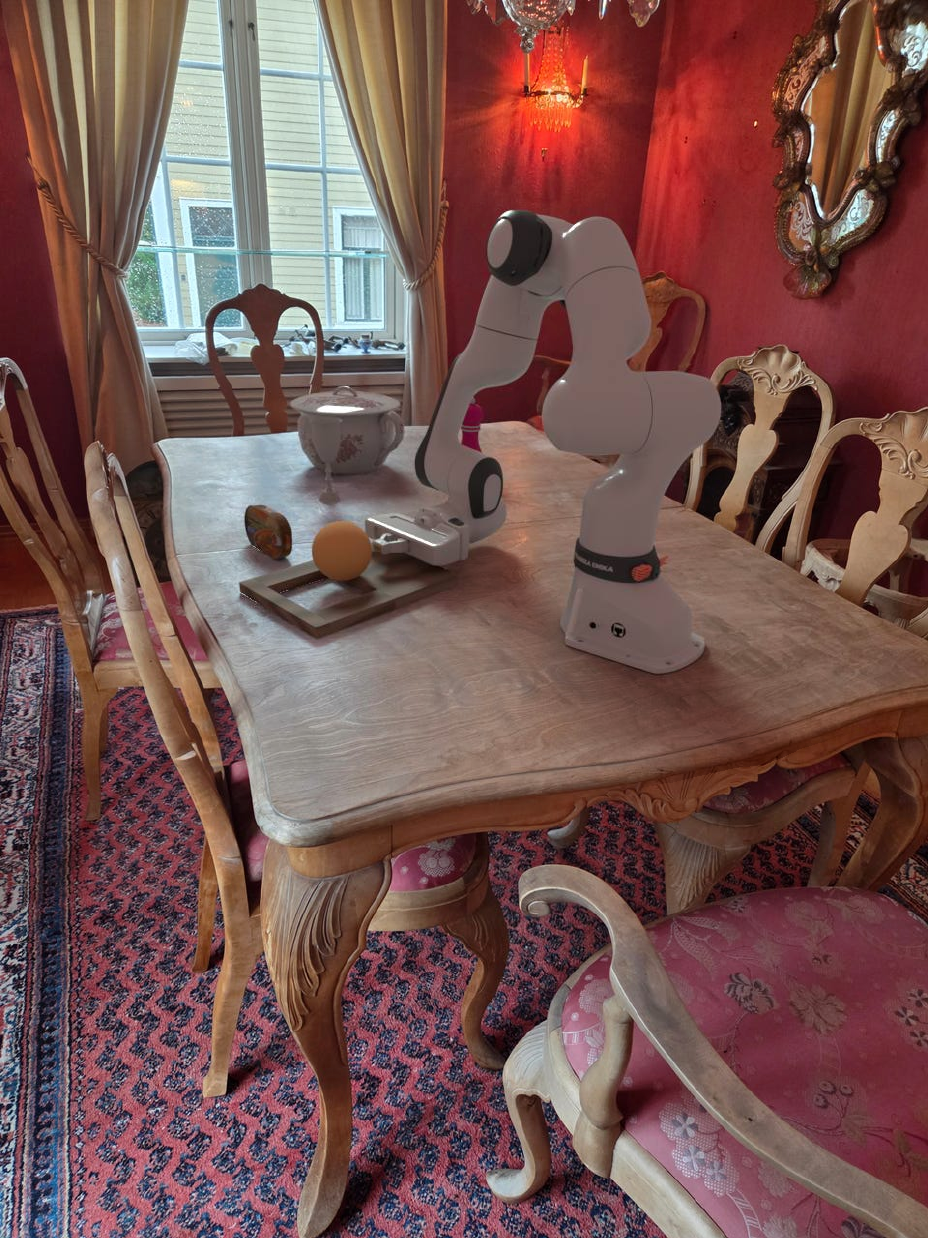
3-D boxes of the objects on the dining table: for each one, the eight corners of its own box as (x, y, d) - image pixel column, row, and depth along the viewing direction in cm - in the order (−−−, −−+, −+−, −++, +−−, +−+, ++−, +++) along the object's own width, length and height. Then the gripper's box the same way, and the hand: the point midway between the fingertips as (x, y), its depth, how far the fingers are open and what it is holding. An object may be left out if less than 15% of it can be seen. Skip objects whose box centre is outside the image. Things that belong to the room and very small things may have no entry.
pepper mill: (480, 483, 189) (483, 400, 180) (451, 480, 190) (453, 398, 181) (485, 475, 195) (488, 395, 186) (457, 472, 196) (459, 393, 187)
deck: (458, 585, 134) (459, 574, 133) (316, 639, 115) (316, 627, 114) (378, 549, 148) (378, 540, 147) (240, 593, 128) (238, 582, 128)
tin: (244, 541, 150) (240, 500, 146) (259, 538, 152) (255, 497, 148) (281, 565, 140) (277, 522, 136) (297, 562, 141) (293, 518, 138)
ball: (379, 520, 126) (324, 531, 120) (385, 579, 129) (331, 592, 124) (351, 512, 133) (298, 522, 128) (357, 568, 137) (306, 579, 131)
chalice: (307, 501, 173) (302, 420, 165) (326, 493, 178) (321, 415, 170) (333, 506, 170) (329, 425, 162) (351, 498, 175) (348, 419, 167)
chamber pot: (288, 457, 205) (282, 377, 196) (389, 452, 213) (387, 375, 204) (301, 487, 182) (294, 398, 172) (413, 480, 189) (413, 395, 180)
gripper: (399, 500, 146) (340, 515, 137) (475, 528, 133) (415, 547, 125) (399, 531, 149) (341, 548, 140) (473, 561, 136) (415, 582, 127)
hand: (377, 548), depth 132 cm, fingers closed
